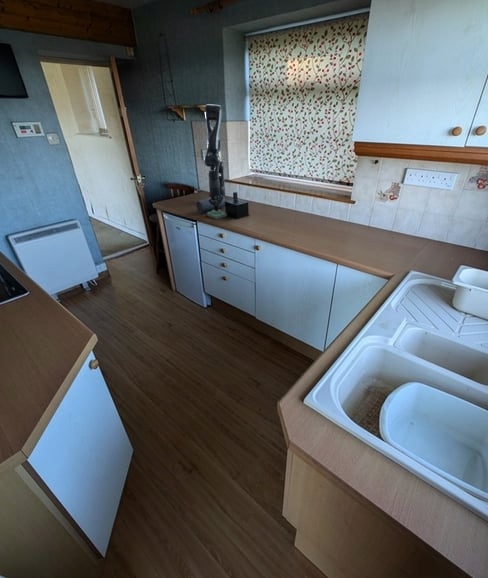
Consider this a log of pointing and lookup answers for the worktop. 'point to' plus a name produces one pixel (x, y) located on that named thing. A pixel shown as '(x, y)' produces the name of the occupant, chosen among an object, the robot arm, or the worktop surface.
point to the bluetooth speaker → (208, 205)
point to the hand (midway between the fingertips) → (216, 210)
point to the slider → (235, 195)
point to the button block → (216, 214)
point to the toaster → (236, 208)
